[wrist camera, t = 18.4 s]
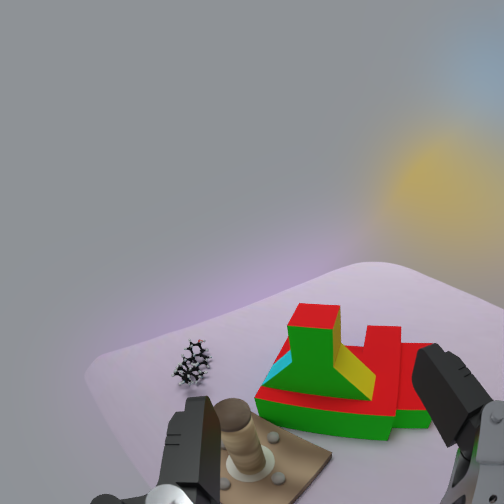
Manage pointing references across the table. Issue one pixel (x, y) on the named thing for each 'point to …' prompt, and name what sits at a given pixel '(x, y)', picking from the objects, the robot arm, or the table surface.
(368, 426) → the building blocks toy
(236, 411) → the oak post
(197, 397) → the robot arm
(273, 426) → the walnut base board
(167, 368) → the table surface
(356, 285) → the table surface
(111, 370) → the table surface
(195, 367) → the molecular model
